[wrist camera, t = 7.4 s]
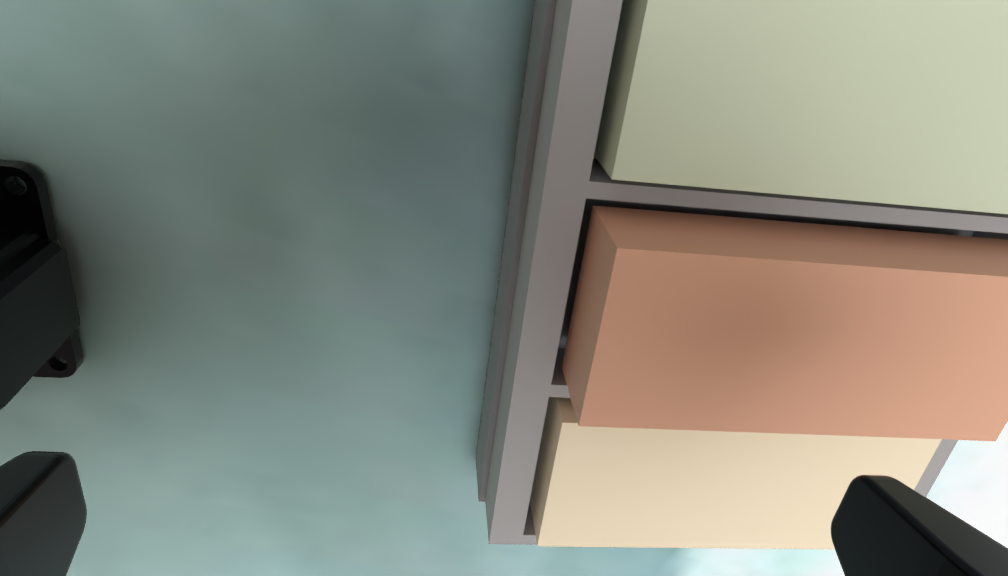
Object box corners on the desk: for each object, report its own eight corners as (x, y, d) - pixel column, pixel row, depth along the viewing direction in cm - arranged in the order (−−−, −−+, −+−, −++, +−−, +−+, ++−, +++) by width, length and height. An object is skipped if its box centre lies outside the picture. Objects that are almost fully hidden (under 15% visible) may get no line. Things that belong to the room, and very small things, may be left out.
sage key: (588, 147, 16) (611, 179, 14) (627, -64, 14) (661, -65, 12) (988, 185, 17) (1063, 219, 15) (1078, -2, 15) (1179, 8, 13)
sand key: (527, 485, 21) (537, 546, 19) (548, 369, 19) (562, 422, 17) (839, 492, 23) (881, 549, 21) (891, 385, 21) (943, 436, 18)
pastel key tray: (476, 458, 23) (481, 546, 20) (593, -450, 13) (648, -589, 9) (839, 468, 25) (900, 550, 22) (1208, -314, 14) (1439, -391, 11)
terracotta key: (561, 367, 17) (578, 426, 15) (592, 205, 15) (617, 248, 13) (933, 384, 19) (995, 440, 17) (1008, 239, 17) (1090, 282, 15)
